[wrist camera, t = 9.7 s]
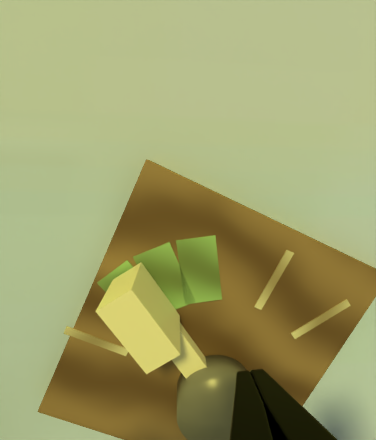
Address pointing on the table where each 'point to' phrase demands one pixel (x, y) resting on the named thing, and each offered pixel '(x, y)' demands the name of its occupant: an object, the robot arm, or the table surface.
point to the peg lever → (171, 353)
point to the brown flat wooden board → (207, 305)
